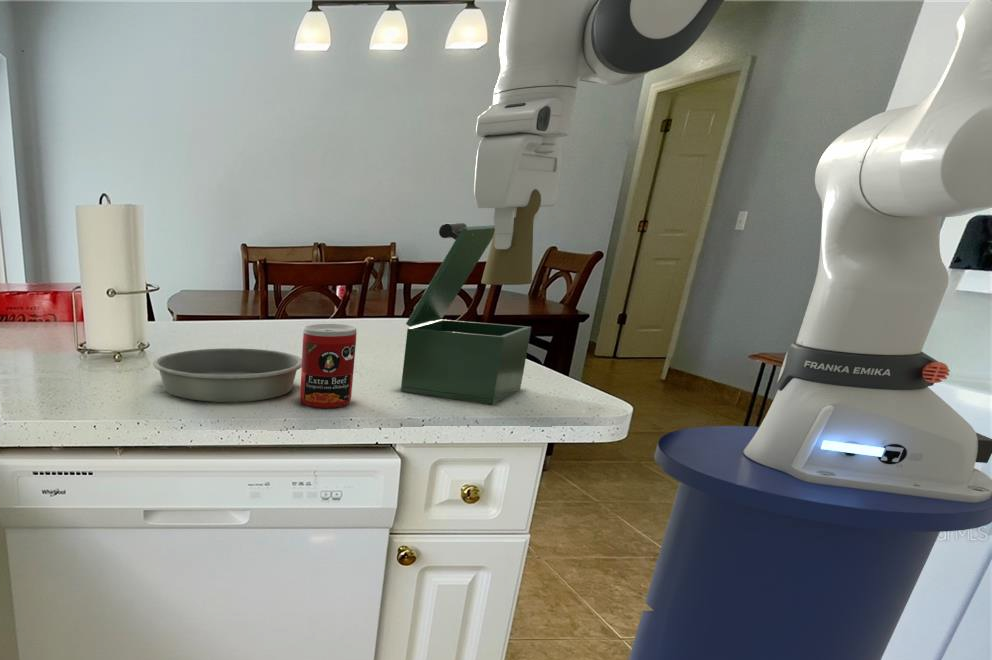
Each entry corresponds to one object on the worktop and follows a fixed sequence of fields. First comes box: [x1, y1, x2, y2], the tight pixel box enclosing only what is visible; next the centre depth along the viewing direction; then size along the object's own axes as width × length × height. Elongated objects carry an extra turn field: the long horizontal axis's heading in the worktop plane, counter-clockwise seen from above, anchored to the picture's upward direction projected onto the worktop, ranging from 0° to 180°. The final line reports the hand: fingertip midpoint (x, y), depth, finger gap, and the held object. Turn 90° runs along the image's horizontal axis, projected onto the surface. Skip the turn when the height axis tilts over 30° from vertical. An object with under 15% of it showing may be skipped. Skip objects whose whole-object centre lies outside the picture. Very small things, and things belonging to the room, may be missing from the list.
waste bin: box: [400, 318, 532, 406], centre depth 112 cm, size 15×13×10 cm
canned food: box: [299, 323, 357, 409], centre depth 106 cm, size 8×8×11 cm
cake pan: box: [152, 347, 302, 403], centre depth 117 cm, size 25×25×4 cm
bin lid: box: [405, 222, 495, 328], centre depth 110 cm, size 16×13×5 cm
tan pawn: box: [480, 189, 541, 286], centre depth 89 cm, size 6×6×11 cm
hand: (511, 248), depth 89 cm, fingers closed on tan pawn, 4 cm apart
